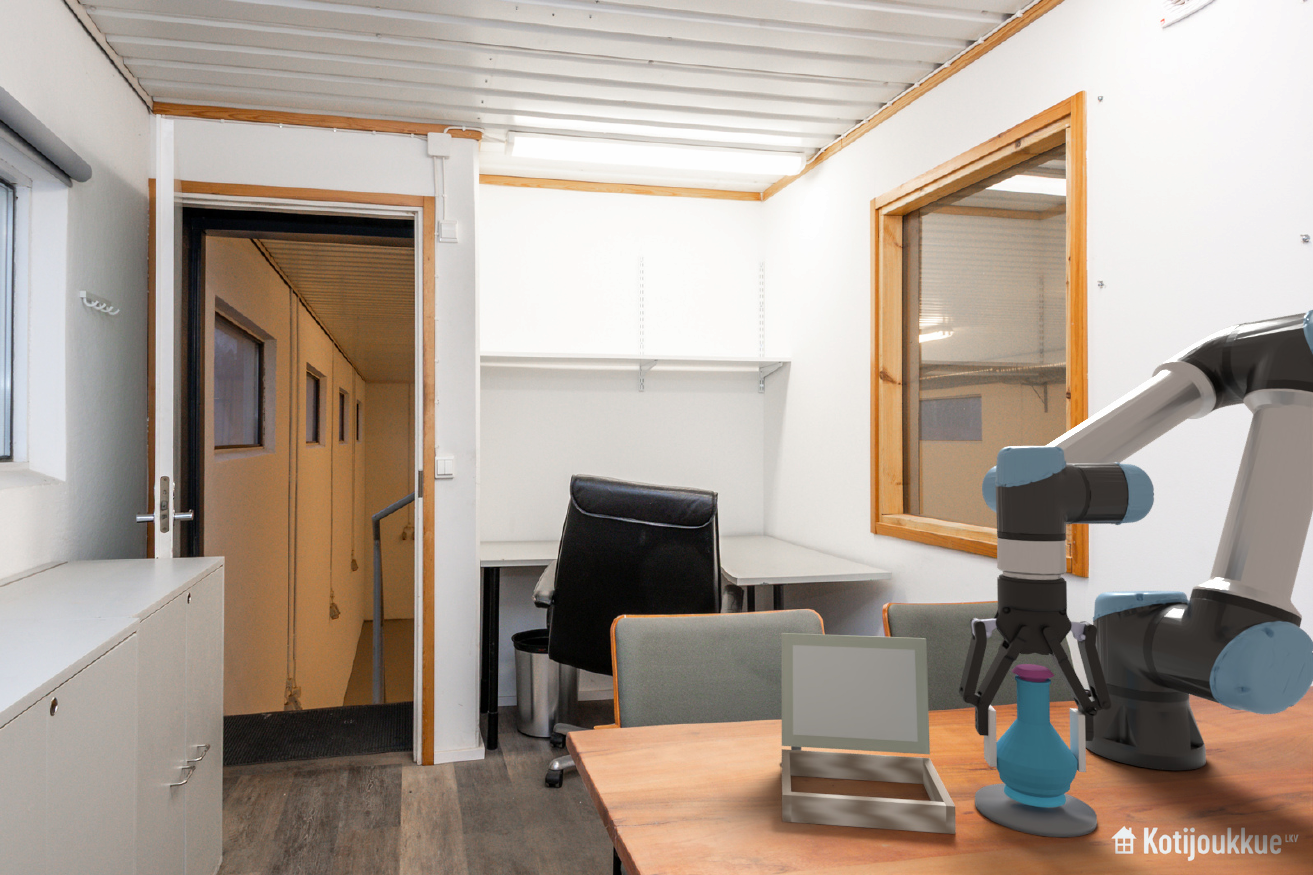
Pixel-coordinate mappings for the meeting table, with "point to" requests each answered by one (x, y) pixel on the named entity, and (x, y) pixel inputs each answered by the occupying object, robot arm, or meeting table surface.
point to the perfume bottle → (1034, 745)
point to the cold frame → (866, 809)
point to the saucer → (1036, 814)
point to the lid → (855, 693)
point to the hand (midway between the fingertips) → (1033, 765)
